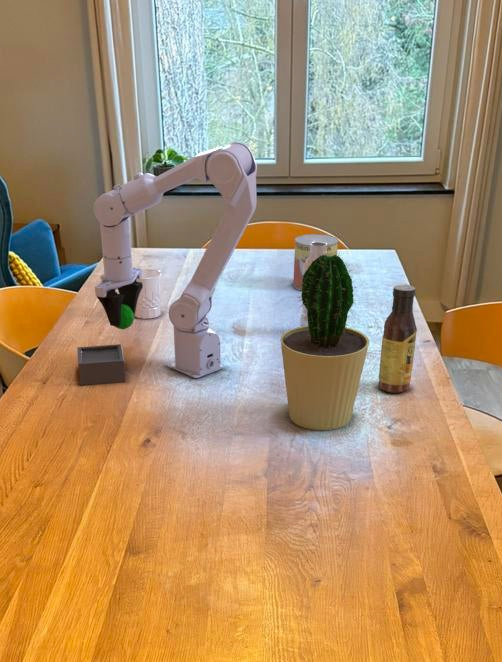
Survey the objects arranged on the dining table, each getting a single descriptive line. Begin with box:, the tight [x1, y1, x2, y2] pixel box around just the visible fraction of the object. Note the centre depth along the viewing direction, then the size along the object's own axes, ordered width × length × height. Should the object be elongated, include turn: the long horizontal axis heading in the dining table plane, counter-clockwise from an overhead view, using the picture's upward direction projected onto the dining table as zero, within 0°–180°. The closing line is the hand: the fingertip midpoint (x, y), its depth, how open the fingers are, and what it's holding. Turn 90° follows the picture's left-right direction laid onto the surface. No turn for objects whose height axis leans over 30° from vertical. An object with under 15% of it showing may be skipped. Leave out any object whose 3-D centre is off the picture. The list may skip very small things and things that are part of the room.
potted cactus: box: [280, 251, 370, 431], centre depth 138 cm, size 15×15×30 cm
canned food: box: [292, 233, 340, 291], centre depth 209 cm, size 11×11×12 cm
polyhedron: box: [114, 305, 135, 330], centre depth 165 cm, size 5×5×5 cm
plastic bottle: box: [299, 242, 327, 327], centre depth 177 cm, size 6×7×20 cm
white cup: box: [134, 268, 163, 320], centre depth 191 cm, size 8×8×10 cm
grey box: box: [76, 343, 127, 386], centre depth 162 cm, size 9×9×5 cm
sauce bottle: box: [378, 284, 418, 394], centre depth 151 cm, size 6×6×20 cm
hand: (122, 321), depth 166 cm, fingers closed on polyhedron, 5 cm apart
